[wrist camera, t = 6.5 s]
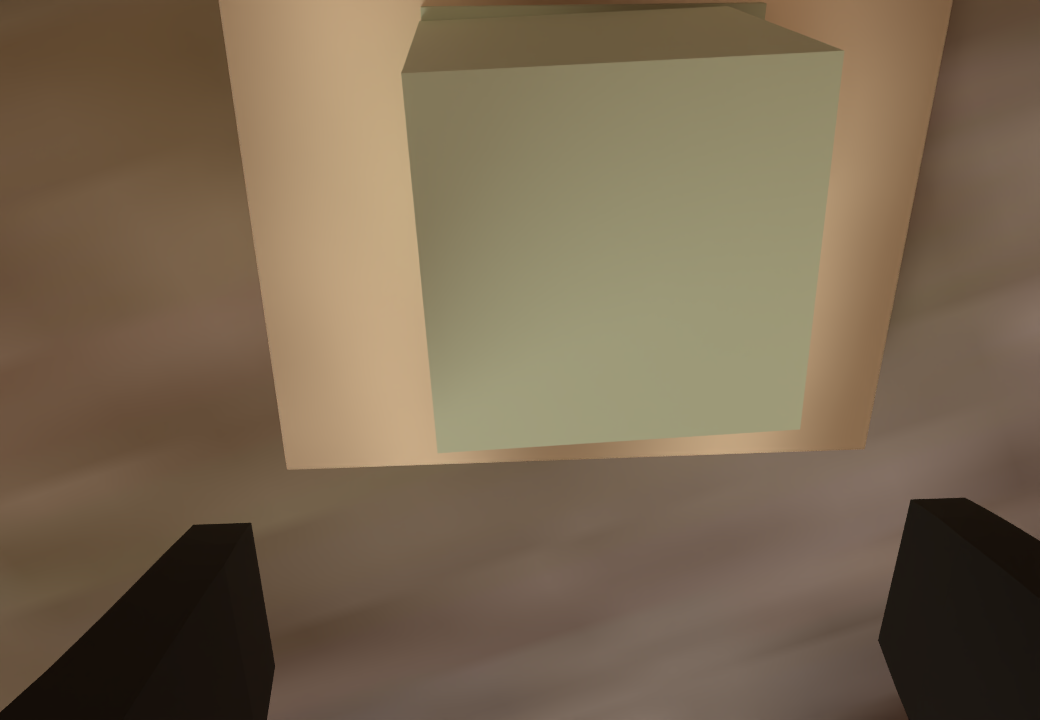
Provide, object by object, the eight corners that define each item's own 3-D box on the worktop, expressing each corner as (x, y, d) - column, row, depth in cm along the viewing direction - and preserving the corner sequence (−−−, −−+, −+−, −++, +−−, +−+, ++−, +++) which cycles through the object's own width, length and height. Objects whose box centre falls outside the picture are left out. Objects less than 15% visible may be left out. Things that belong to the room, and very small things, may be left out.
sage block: (727, 5, 15) (843, 50, 10) (710, 290, 17) (799, 428, 12) (418, 20, 15) (401, 72, 10) (443, 307, 17) (437, 453, 12)
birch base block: (909, -208, 16) (1005, -231, 13) (814, 381, 22) (868, 454, 19) (233, -208, 16) (181, -232, 13) (309, 397, 21) (285, 474, 18)
